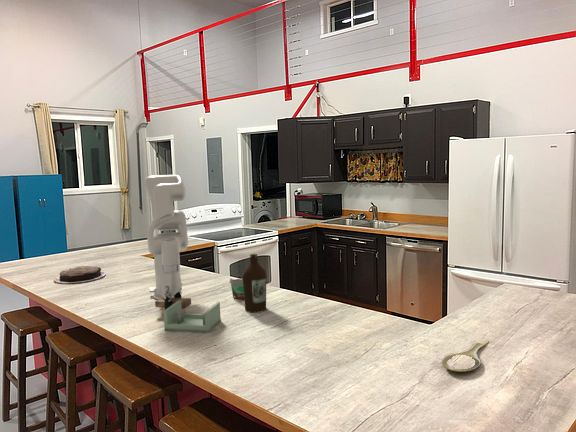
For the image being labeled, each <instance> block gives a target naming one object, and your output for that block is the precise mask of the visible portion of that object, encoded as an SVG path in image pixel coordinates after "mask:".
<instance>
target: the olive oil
mask: <svg viewBox="0 0 576 432" xmlns="http://www.w3.org/2000/svg"><path fill="white" fill-rule="evenodd" d="M258 261H259V258H258V254H257V253H250V254H249V264H248V265H247V266H245V269H244V270H243V271H242V277H241V278H243V288H244V300H243V301H244V310H245V312H247V313H261V312H264V311H266V310H267V272H266V270H265V268H264V267H263V266H262V265H261V264H260V263H259V262H258Z"/></svg>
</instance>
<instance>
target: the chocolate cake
mask: <svg viewBox="0 0 576 432" xmlns="http://www.w3.org/2000/svg"><path fill="white" fill-rule="evenodd" d="M106 274H107V273H106V272H105V271H102V268H101V267H100V266H97V265H96V266H90V265H86V266H85V265H82V266H77V267H74V268H69V269H66V270H61V272H59V276H57V277H55V278H54V279H53V281H54V283H55V284H60V285H61V284H63V285H64V284H65V285H72V284H84V283H88V282H95V281H97V280H101V279H103V278H104V277H105V276H106Z"/></svg>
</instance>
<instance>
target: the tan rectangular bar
mask: <svg viewBox="0 0 576 432" xmlns="http://www.w3.org/2000/svg"><path fill="white" fill-rule="evenodd" d="M164 310H165V308H163V307H161V315H162V316H164ZM182 310H183V313H187V308H182Z"/></svg>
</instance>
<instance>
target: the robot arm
mask: <svg viewBox="0 0 576 432" xmlns="http://www.w3.org/2000/svg"><path fill="white" fill-rule="evenodd" d="M144 189H145V192H146V193H147V197H148V198H149V201H150V205H151V215H152V216H151V218H152V220H151V221H150V223H149V225H148V227H147V229H146V240H147V248H148V252H149V253H150V254H151V255H153V261H154V277H155V287H149V288H148V289H149V293H153V295H152V296H153V298H154V299H156V300H158V299H160V298H161V297H163V299H164V302H165V310H166V309H167V308H169V307H170V306H171V305H172V301H171V299H172V298H182V291H183V290H182V286H183V283H182V278H181V259H180V252H184V251H186V250H187V249H188V247H189V238H188V227H187V226H188V225H187V218H186V214H185V213H184V211H182V210H179V209H178V210H175V208H174V202H178V201H179V202H181V201H184V200H185V198H186V188H185V185H184V182H183V179H182V177H181V175H179V174H161V175H160V174H159V175H158V174H155V175H154V174H153V175H149V176H147V177H146V178H145V179H144ZM155 230H156V231H173V230H174V231H175V232H164V233H163V232H162V233H157V234H154V231H155Z"/></svg>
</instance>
